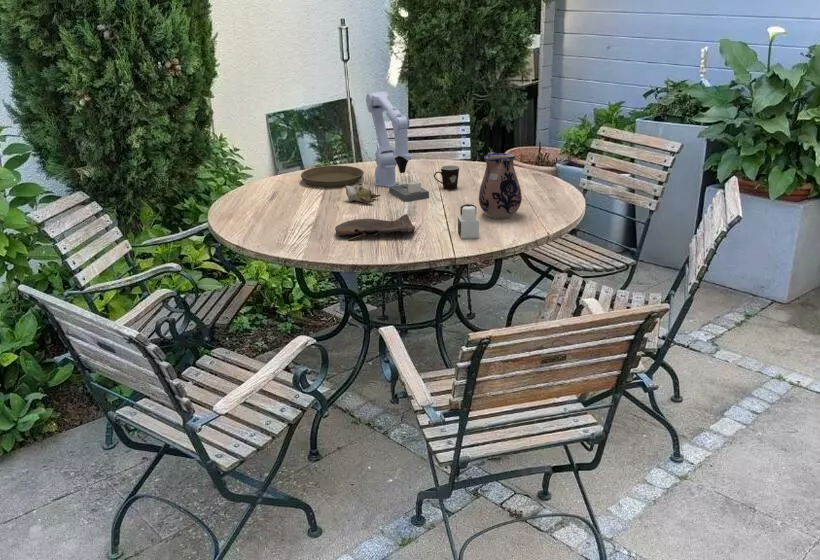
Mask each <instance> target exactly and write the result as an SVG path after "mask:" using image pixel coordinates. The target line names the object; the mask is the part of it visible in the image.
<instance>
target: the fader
mask: <svg viewBox="0 0 820 560" xmlns="http://www.w3.org/2000/svg"><path fill="white" fill-rule="evenodd" d="M407 184H408V192H410V193H415V192H421V188H422V182H421V181H419V180H418V181H412V182H408V183H407Z"/></svg>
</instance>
